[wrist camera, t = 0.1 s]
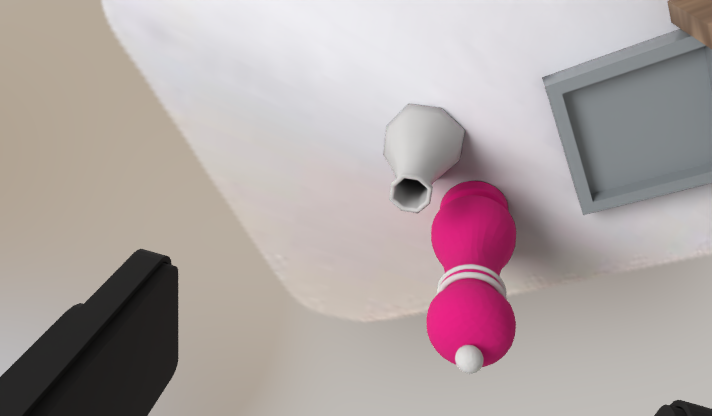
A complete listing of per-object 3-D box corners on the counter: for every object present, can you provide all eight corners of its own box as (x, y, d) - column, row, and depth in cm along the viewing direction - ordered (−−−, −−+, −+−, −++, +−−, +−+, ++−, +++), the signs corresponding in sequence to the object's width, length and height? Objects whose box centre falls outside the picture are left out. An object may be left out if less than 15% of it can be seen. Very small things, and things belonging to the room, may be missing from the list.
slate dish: (542, 77, 43) (545, 86, 41) (711, 18, 38) (724, 24, 36) (579, 201, 47) (583, 215, 45) (734, 161, 43) (746, 174, 41)
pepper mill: (530, 213, 49) (555, 380, 32) (470, 254, 53) (463, 423, 36) (477, 160, 48) (474, 305, 31) (419, 206, 51) (387, 359, 34)
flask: (479, 124, 46) (478, 176, 37) (441, 190, 50) (432, 250, 41) (403, 89, 46) (385, 132, 37) (371, 157, 50) (348, 211, 41)
